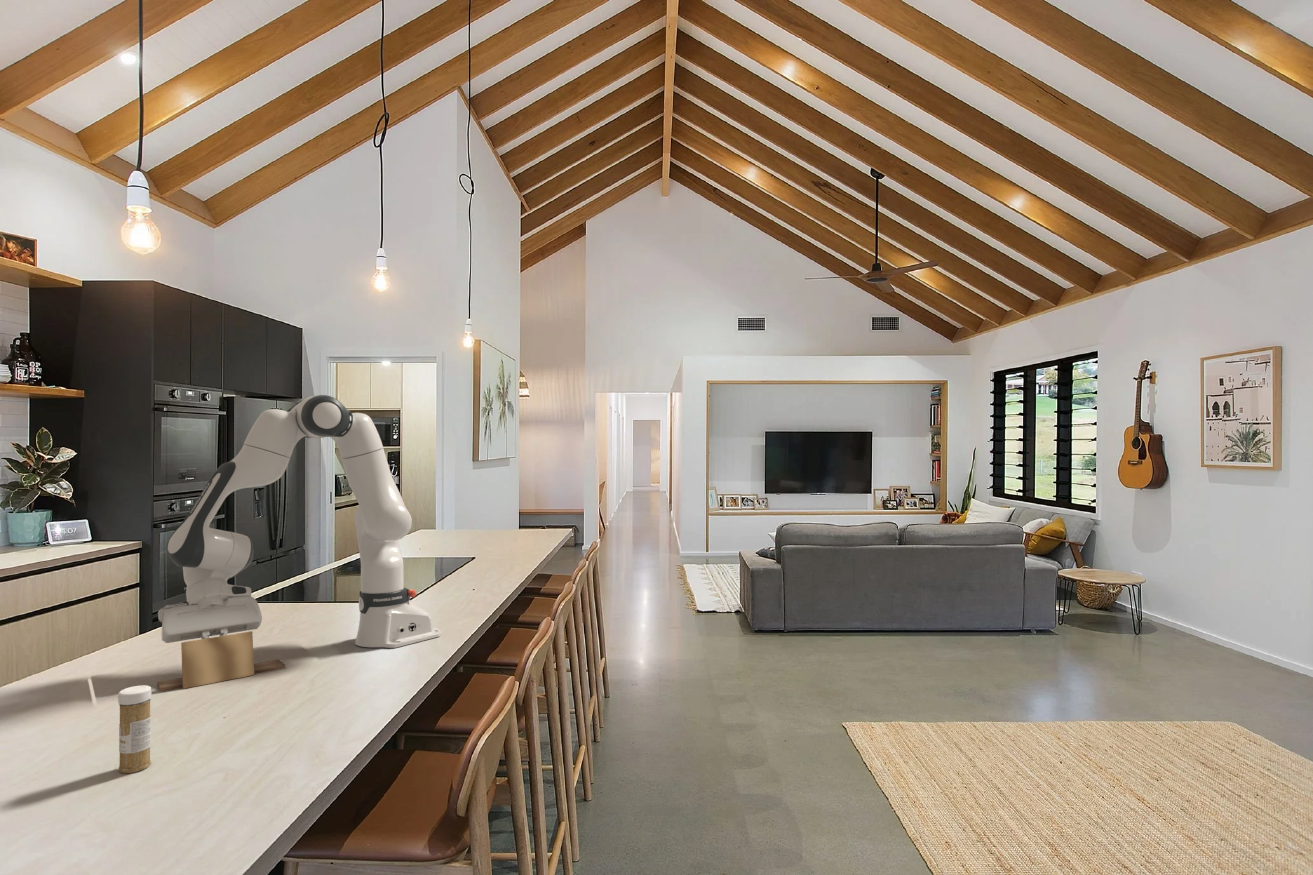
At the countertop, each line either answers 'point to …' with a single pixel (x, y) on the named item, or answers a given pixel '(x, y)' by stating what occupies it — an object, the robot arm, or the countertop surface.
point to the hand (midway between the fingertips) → (216, 649)
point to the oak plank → (217, 659)
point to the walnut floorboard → (257, 669)
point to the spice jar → (134, 728)
